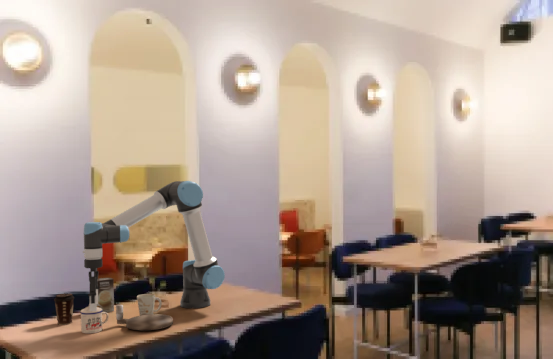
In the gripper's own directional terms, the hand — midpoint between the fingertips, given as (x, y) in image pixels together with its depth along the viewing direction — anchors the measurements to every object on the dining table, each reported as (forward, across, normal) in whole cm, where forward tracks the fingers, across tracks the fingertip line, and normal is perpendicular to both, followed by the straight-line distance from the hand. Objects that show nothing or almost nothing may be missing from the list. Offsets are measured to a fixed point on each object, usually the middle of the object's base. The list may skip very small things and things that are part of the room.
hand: (94, 307), depth 259 cm
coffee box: (+10, -36, +2) cm, 38 cm away
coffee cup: (+10, -18, -14) cm, 25 cm away
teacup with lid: (+10, 0, 0) cm, 10 cm away
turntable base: (+10, +1, +23) cm, 25 cm away
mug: (+10, -19, +24) cm, 32 cm away
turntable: (+9, +1, +21) cm, 23 cm away
